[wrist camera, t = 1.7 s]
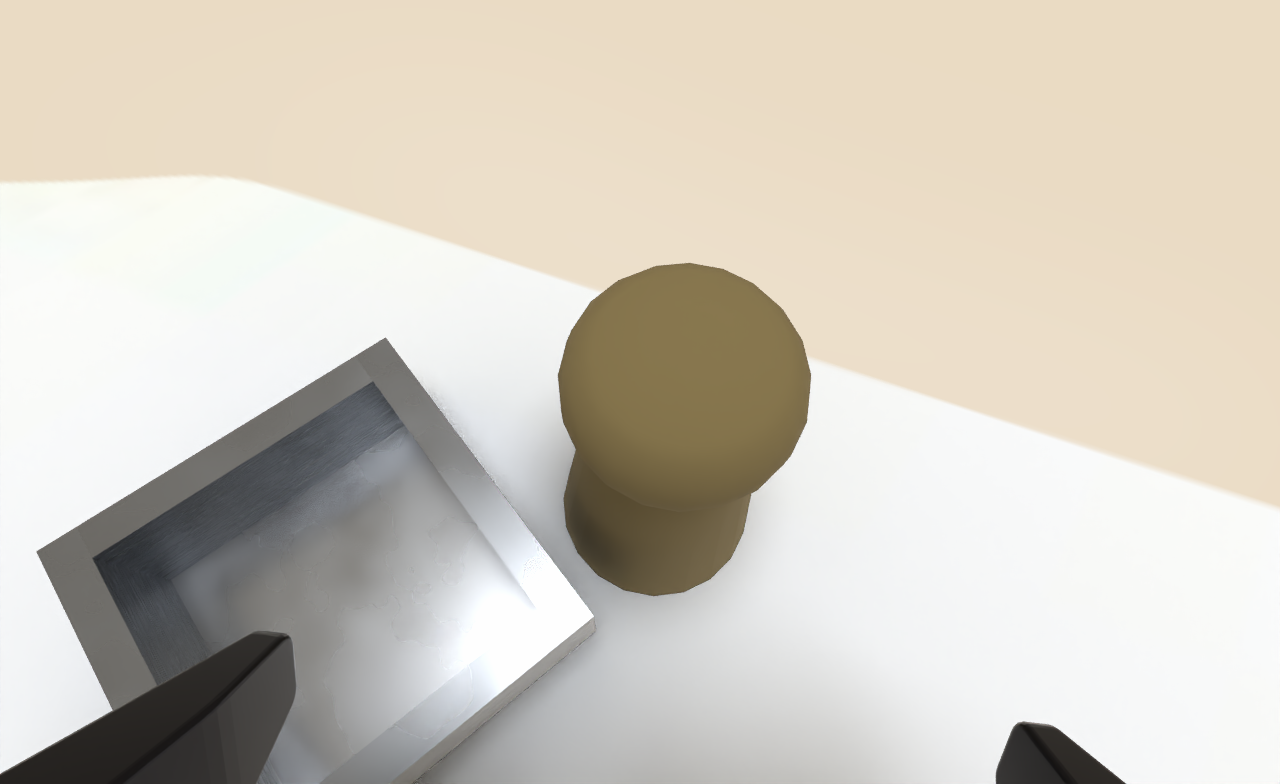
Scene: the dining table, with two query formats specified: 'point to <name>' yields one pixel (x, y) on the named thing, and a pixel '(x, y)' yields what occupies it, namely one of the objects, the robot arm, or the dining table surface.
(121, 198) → the dining table surface
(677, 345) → the cork
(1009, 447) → the dining table surface
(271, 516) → the square metal tray
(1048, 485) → the dining table surface
